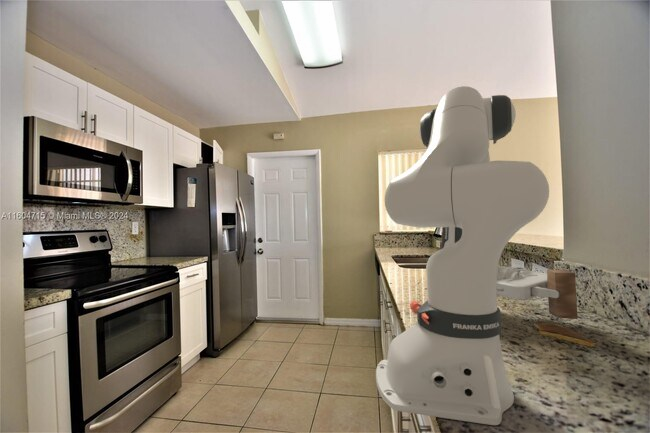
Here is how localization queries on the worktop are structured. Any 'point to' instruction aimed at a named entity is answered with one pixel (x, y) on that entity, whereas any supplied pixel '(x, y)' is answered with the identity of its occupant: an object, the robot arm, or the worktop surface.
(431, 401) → the robot arm
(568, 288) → the walnut block
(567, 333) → the shard
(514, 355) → the worktop surface
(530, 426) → the worktop surface
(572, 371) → the worktop surface
